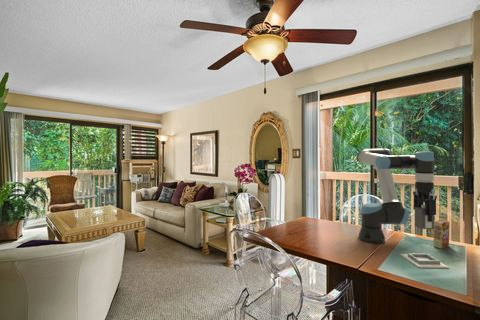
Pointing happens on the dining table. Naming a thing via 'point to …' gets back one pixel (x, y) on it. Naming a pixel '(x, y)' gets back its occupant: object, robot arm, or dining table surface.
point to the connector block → (421, 217)
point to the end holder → (423, 260)
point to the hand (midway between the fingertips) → (424, 225)
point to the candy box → (441, 233)
